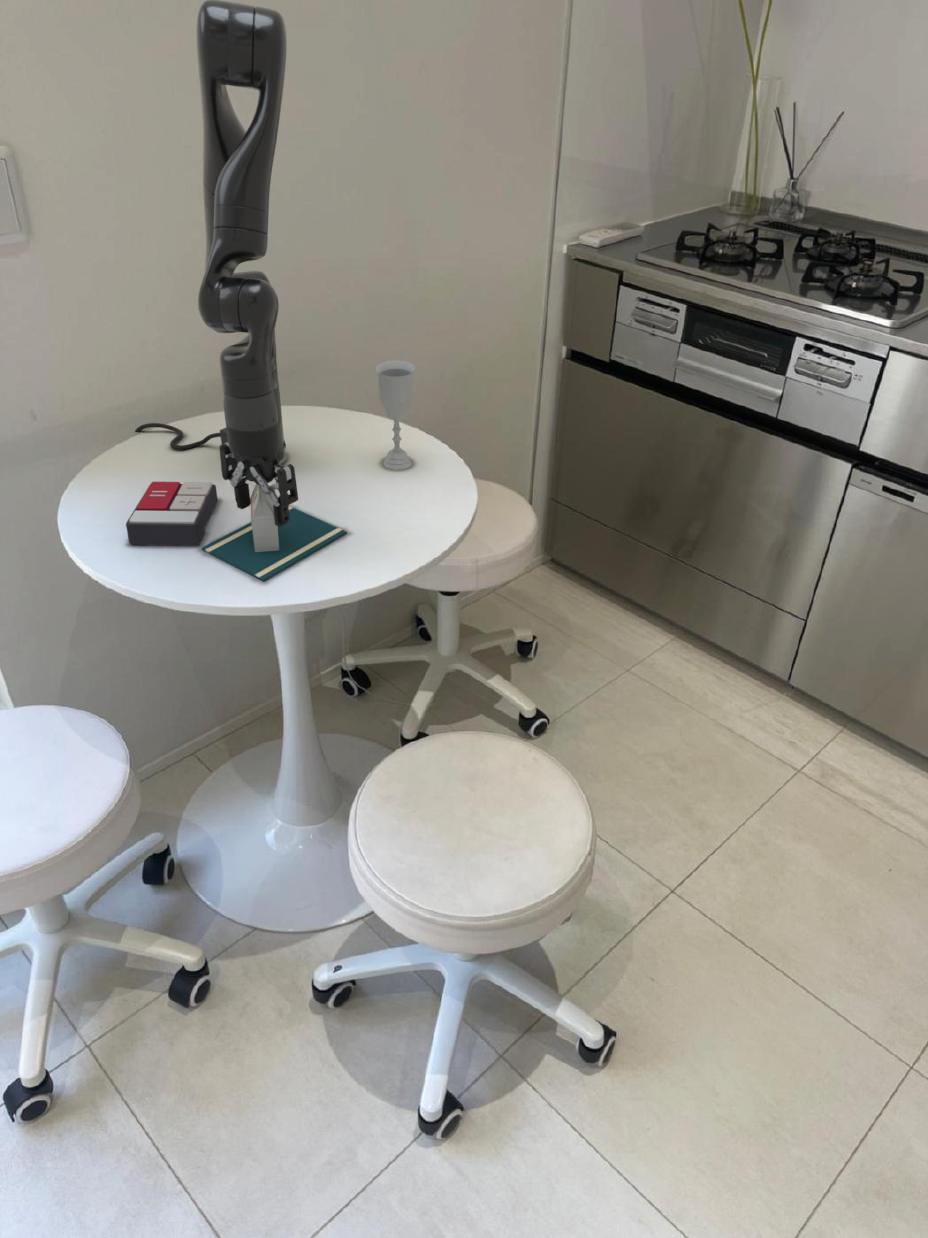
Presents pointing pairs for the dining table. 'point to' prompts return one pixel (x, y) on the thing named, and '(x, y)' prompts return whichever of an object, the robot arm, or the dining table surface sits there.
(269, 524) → the white gable top carton
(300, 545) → the cloth
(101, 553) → the dining table surface
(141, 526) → the calculator
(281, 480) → the robot arm
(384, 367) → the chalice
